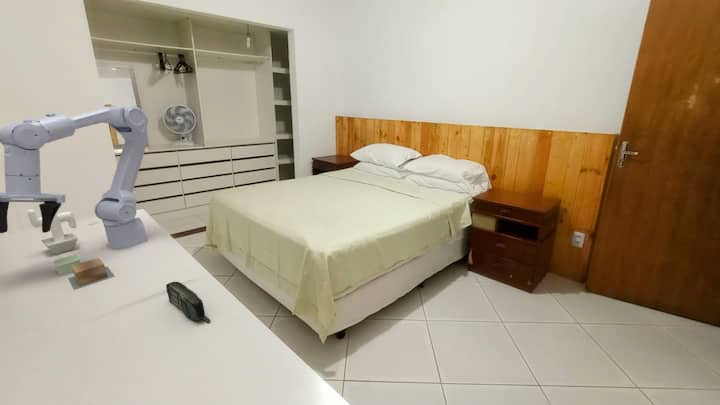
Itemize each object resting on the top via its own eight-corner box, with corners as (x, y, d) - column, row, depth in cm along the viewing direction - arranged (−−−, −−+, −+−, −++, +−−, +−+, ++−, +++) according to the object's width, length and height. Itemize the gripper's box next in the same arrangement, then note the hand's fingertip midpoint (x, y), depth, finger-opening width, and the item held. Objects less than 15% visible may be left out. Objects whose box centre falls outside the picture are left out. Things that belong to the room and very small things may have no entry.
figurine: (85, 247, 99) (71, 202, 95) (44, 259, 92) (28, 210, 88) (79, 241, 104) (66, 198, 99) (39, 252, 97) (23, 206, 92)
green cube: (80, 269, 87) (76, 254, 85) (84, 275, 84) (79, 259, 82) (58, 276, 83) (53, 260, 82) (61, 282, 81) (56, 266, 79)
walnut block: (102, 269, 83) (99, 257, 82) (107, 276, 80) (104, 264, 79) (75, 277, 79) (71, 265, 78) (79, 285, 76) (75, 272, 75)
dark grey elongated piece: (162, 283, 71) (195, 306, 62) (176, 277, 73) (210, 299, 64) (167, 302, 72) (199, 328, 63) (180, 296, 74) (214, 320, 66)
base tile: (108, 271, 85) (107, 266, 85) (116, 281, 80) (115, 276, 80) (69, 283, 80) (68, 278, 79) (75, 295, 75) (73, 289, 74)
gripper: (-33, 174, 68) (-30, 236, 69) (56, 177, 74) (57, 234, 75) (-13, 173, 74) (-10, 230, 75) (68, 176, 80) (69, 229, 81)
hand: (25, 232), depth 76 cm, fingers open, 7 cm apart
